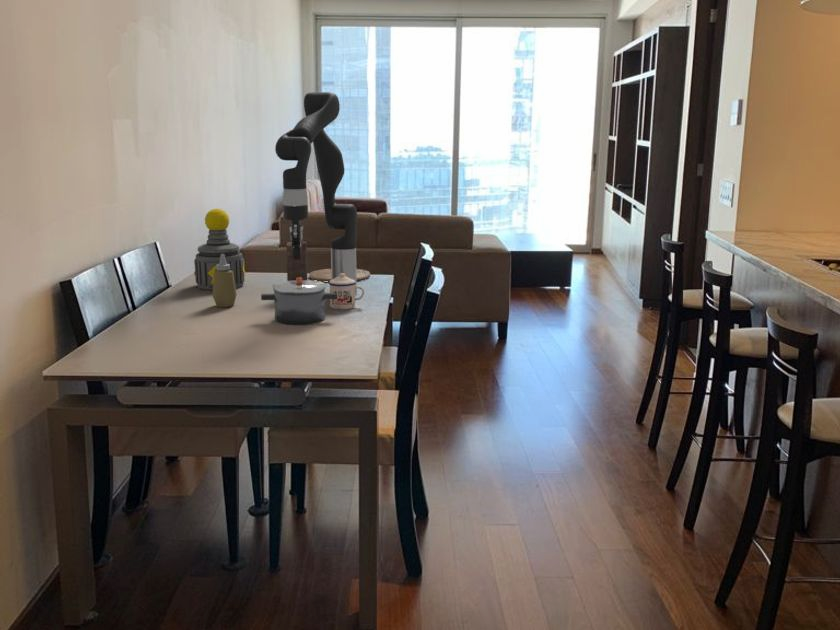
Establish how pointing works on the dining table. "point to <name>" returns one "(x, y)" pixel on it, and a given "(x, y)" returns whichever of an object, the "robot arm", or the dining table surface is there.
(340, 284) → the teacup with lid
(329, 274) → the trivet
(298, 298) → the cooker pot
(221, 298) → the squeeze bottle
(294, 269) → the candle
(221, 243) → the decorative lamp
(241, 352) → the dining table surface
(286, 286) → the lid
